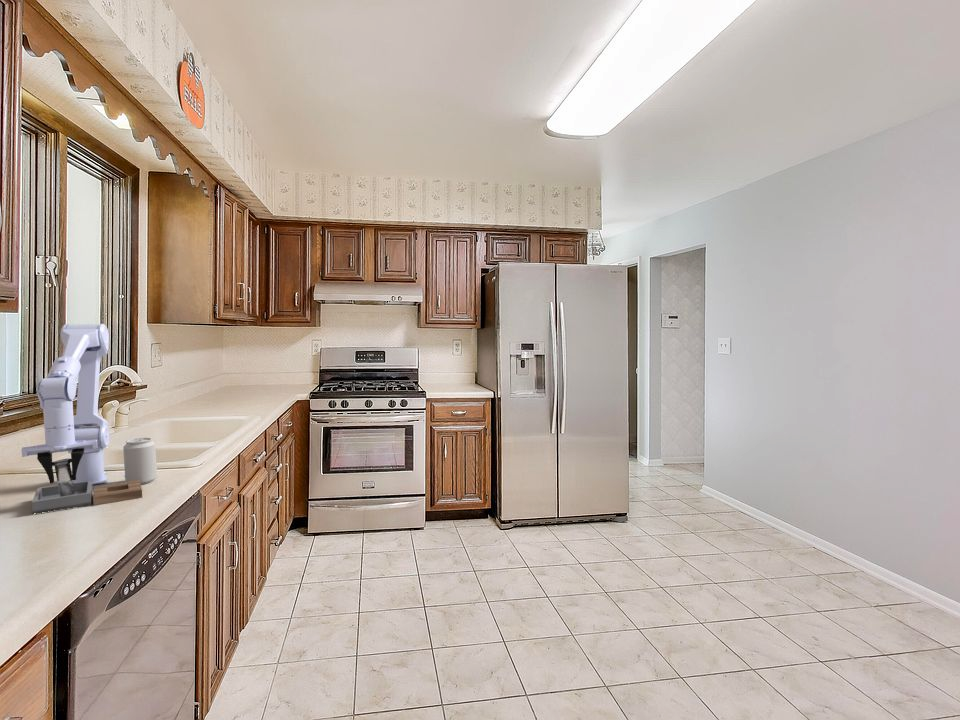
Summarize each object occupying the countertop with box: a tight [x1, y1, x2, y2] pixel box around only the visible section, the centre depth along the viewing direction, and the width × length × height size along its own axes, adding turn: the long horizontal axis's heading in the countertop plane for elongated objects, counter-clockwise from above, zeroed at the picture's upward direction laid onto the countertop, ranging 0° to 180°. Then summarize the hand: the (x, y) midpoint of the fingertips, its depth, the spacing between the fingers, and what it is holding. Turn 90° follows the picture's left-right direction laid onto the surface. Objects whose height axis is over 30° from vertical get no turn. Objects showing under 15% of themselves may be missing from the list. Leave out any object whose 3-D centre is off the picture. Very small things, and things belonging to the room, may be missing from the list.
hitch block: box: [92, 480, 143, 506], centre depth 137 cm, size 10×10×2 cm
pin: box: [51, 457, 75, 497], centre depth 132 cm, size 4×4×9 cm
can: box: [122, 437, 158, 485], centre depth 149 cm, size 8×8×12 cm
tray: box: [31, 480, 94, 515], centre depth 132 cm, size 13×11×3 cm
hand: (63, 480), depth 132 cm, fingers closed on pin, 4 cm apart
